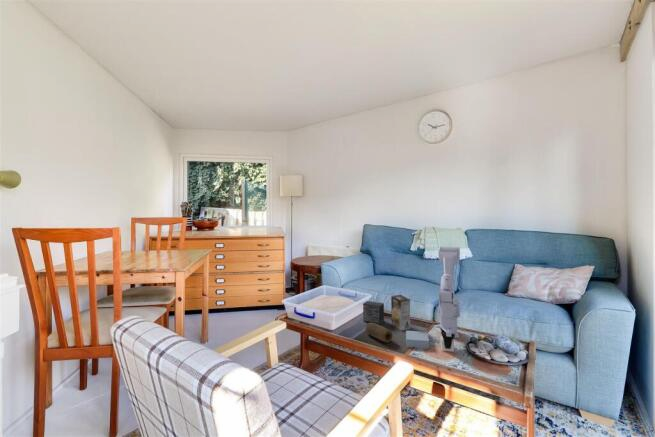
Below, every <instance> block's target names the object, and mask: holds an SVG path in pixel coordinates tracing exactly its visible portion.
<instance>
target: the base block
mask: <svg viewBox="0 0 655 437" xmlns="http://www.w3.org/2000/svg"><path fill="white" fill-rule="evenodd" d="M405 342H406V348H412V347H418V348H417V349H425V348H429V349H430V339H429V334H428V331H418V330H417V331H416V330H405Z"/></svg>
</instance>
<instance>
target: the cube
mask: <svg viewBox="0 0 655 437" xmlns="http://www.w3.org/2000/svg"><path fill="white" fill-rule="evenodd" d="M454 343H455V342H454V339H453V340H452V344H451V348H450V349H446V348H445V345H444V339H443V337H442V335H441V334H440V348H441V351H442V352H452V353H453V352H454V351H455V349H454V348H455V347H454V346H455V345H454Z"/></svg>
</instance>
